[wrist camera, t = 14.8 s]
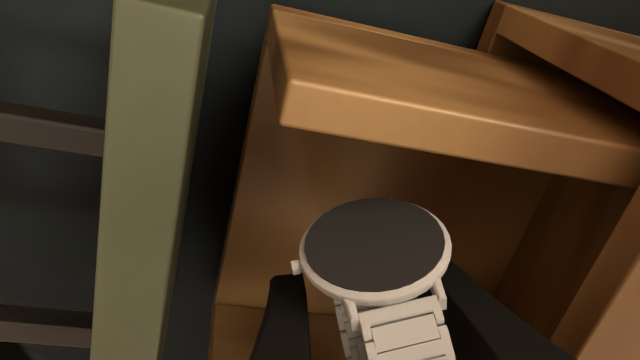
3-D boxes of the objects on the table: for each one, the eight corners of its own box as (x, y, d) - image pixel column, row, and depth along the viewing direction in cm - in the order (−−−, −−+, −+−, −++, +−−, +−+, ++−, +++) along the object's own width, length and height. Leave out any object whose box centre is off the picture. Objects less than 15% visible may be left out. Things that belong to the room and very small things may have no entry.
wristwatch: (400, 155, 12) (509, 305, 7) (411, 318, 14) (498, 503, 10) (272, 182, 12) (311, 354, 7) (306, 343, 14) (350, 544, 10)
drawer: (-28, 291, 17) (-178, 511, 11) (-54, -108, 12) (-361, -109, 6) (469, 338, 20) (561, 520, 15) (609, 53, 16) (835, 151, 10)
